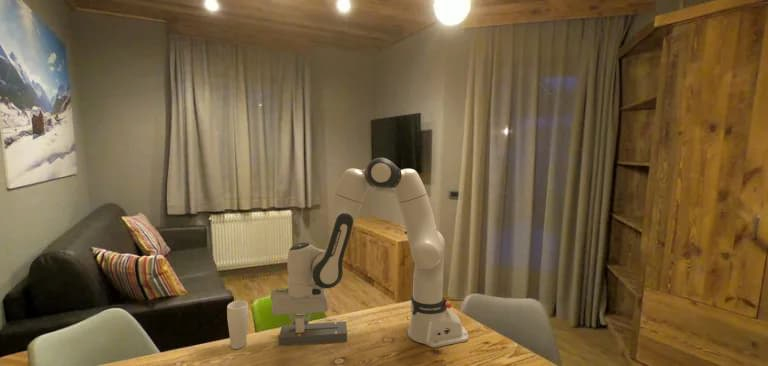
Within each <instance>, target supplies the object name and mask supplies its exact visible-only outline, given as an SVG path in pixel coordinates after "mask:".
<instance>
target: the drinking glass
mask: <svg viewBox="0 0 768 366" xmlns="http://www.w3.org/2000/svg"><path fill="white" fill-rule="evenodd" d="M226 313H227V314H226V316H227V317H226V318H227V319H226V320H227V327H228V333H229V345H230V348H231V349H234V350H240V349H242V348H244V347H246V345H247V341H248V339H247V337H248V321H249V303H248V301H245V300H235V301H232V302H229V303H228V304H227V306H226Z"/></svg>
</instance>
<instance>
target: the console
mask: <svg viewBox="0 0 768 366" xmlns="http://www.w3.org/2000/svg"><path fill="white" fill-rule="evenodd" d="M340 342H342V343H343V342H348V328H347V321H331V322H315V323H309V324H307V325H305V330H304V332H299V333H296V325H292V324H282V325H281V328H280V331H279V335H278V346H279V347H281V346H296V345H309V344H310V345H313V344H323V343H324V344H325V343H340Z"/></svg>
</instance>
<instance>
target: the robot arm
mask: <svg viewBox="0 0 768 366" xmlns="http://www.w3.org/2000/svg"><path fill="white" fill-rule="evenodd" d="M372 188H376V189H380V190H381V189H392V190H393V192H394V194H395V196H396V200H397V202H398V206H399V208H400V212H401V215H402V217H403V218H402V219H403V221H404V225H405V229H406V230H405V231H406V235H407V241H408V244H409V249H410V254H411V259H412V262H413V263H414V267H413V277H412V279H413V280H412V296H411V301H410V311H411V316H410V321H409V322H410V323H409V327H408V330H407V336H408V337H409V338H410V339H411V340H413V341H414V342H417V343H420V344H424V345H426V346H428V347H430V348H439V347H443V346H448V345H452V344H453V345H454V344H457V343H458V344H459V343H464V342H467V341H468V340H469V334H468V331H467V330H466V328H465V327H464V326H463V325H462V321H461V319H460V317H459V316H458V314H457V313H455V312H454V311H453V310H452V309H451V308H452V304H451V302H450V301H449V300H447V299H446V298H445V297H443V289H444V288H443V287H444V284H443V283H444V270H445V268H444V267H445V253H446V241H445V238H444V236H443V235H442V233H441V232H440V231H438V230H437V226H436V225H437V224H436V221H435V215H434V212H433V208H432V206H431V203H430V199H429V196H428V194H427V190H426V188H425V185H424V183H423V181H422V179H421V177H420V175H419V173H418V172H417V170H415V169H413V168H403V169H400V168H399V167H398V166H397V165H396V164H395V163H394V162H393V161H391V160H389V159H388V158H386V157H376V158H374V159H372V160H371V161H370V162H368V164H367V166H366V167H365V169H359V168H354V167H353V168H348V169H346V170H345V171H344V172H343V174H342V176H341V177H340V179H339V181H338V183H337V185H336V187H335V190H334V193H333V195H332V198H331V203H330V209H329V213H330V214H329V215H330V218H331V234H330V237H329V240H328V243H327V246H326V248H325V249H321V248H318V247H315V246H314V245H312V244H311V243H310V242H299V243H296V244H294V245H292V246H291V247H290V248H289V250H288V252H287V253H288V254H287V273H288V276H287V288H286V287H285V288H274V289H273V290H272V291H271V292H270V299H271V314H272V315H273V316H282V315H283V316H284V315H288V318H289V320H290V321H291V325H296V318H295V317H294V315H296V314H305V315H306V314H307V317H305V320H304V322H305V323H304V325H307V324H310V323H309V322H310V320H311V317H312V314H322V313H327V312H328V311H329V301H328V300H329V299H328V295H327V292H326V290H325V289H332V288H334V287H336V286H337V285H339V283H340V282H341V280H342V278H343V259H344V256H345V252H346V249H347V246H348V244H349V239H350V236H351V232H352V230H353V227H354V225H355V223H356V220H357V218H358V216H359V213H360V210H361V208H362V206H363V203H364V200H365V197H366V194H367V192H368V191H369V190H370V189H372Z"/></svg>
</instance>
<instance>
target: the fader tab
mask: <svg viewBox="0 0 768 366" xmlns="http://www.w3.org/2000/svg"><path fill="white" fill-rule="evenodd" d="M305 318H306V314H295V319H296V333H299V332H304V330H305V325H304V323H305V322H304V320H305Z"/></svg>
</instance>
